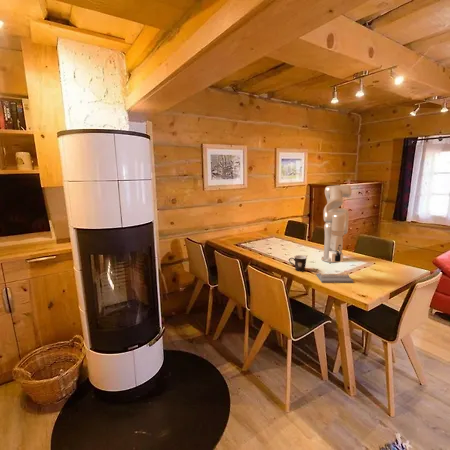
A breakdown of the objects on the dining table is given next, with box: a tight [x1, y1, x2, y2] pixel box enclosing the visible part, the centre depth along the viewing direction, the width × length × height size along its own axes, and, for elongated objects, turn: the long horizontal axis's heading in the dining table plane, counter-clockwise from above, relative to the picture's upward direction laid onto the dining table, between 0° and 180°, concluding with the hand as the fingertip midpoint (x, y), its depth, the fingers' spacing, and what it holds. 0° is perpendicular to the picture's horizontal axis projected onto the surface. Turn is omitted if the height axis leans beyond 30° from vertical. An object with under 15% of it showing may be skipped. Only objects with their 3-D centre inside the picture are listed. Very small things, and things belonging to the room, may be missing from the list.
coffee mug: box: [288, 254, 307, 273], centre depth 200 cm, size 12×9×10 cm
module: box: [329, 251, 344, 263], centre depth 179 cm, size 6×7×6 cm
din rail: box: [319, 273, 350, 278], centre depth 182 cm, size 2×18×2 cm, turn 88°
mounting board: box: [316, 273, 354, 284], centre depth 182 cm, size 12×20×2 cm, turn 88°
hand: (335, 259), depth 179 cm, fingers closed on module, 6 cm apart
